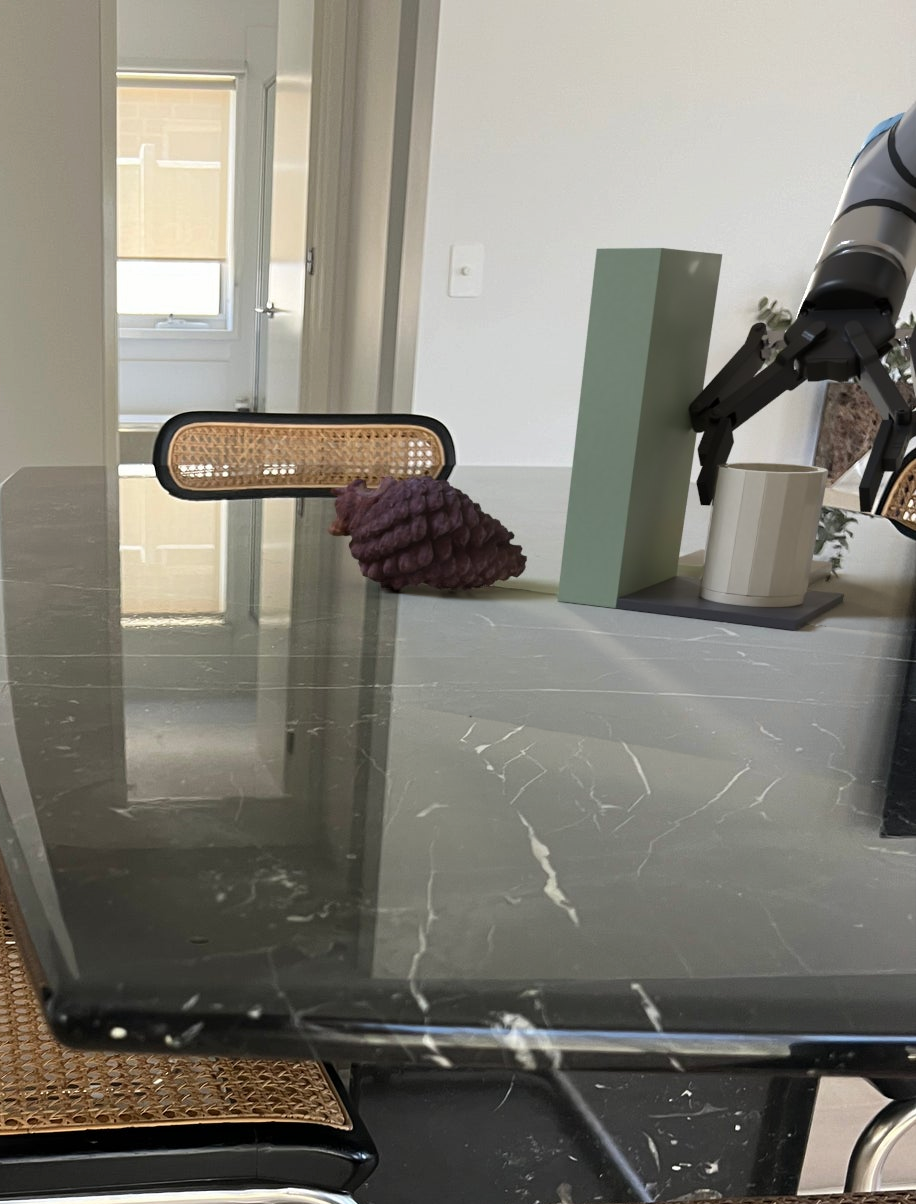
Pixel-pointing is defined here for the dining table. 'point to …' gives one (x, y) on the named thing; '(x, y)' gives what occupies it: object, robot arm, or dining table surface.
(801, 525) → the cup
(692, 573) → the block
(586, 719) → the dining table surface
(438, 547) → the pine cone
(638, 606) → the coffee machine
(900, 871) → the dining table surface
